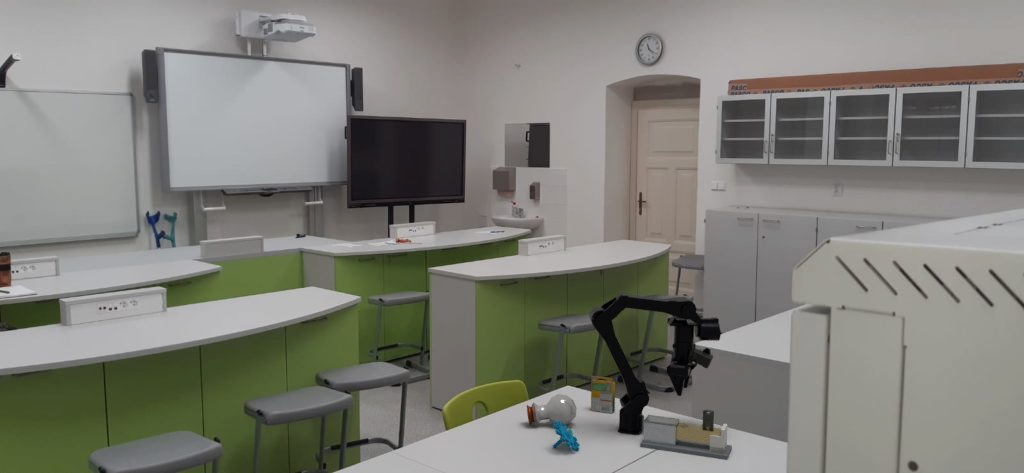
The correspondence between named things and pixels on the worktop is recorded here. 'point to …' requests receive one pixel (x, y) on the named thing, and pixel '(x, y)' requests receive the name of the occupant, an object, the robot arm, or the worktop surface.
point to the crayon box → (602, 395)
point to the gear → (565, 436)
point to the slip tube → (698, 429)
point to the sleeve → (660, 430)
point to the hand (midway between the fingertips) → (682, 391)
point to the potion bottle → (553, 410)
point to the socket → (719, 441)
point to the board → (689, 448)
